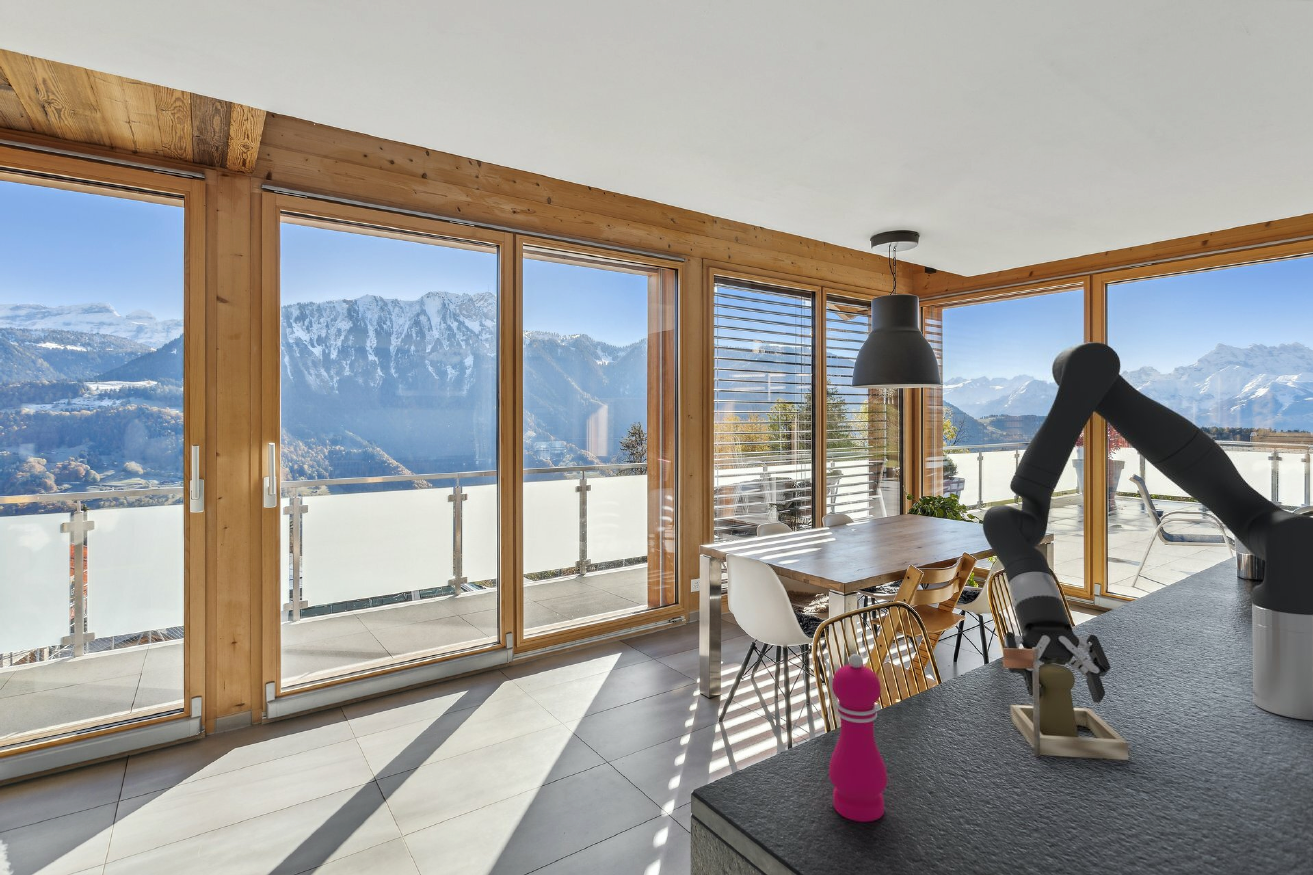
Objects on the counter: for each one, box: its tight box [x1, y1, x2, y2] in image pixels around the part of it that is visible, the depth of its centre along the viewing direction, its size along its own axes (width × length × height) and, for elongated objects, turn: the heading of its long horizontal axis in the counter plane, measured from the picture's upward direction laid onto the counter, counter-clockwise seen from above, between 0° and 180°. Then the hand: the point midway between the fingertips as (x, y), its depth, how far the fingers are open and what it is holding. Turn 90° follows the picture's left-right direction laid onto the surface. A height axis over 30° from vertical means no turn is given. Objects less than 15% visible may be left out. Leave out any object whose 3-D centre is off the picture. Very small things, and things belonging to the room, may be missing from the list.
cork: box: [1039, 663, 1079, 737], centre depth 105 cm, size 6×6×11 cm
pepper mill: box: [828, 653, 888, 823], centre depth 86 cm, size 7×7×20 cm
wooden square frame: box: [1002, 647, 1129, 761], centre depth 104 cm, size 17×13×16 cm
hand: (1068, 699), depth 103 cm, fingers open, 8 cm apart
